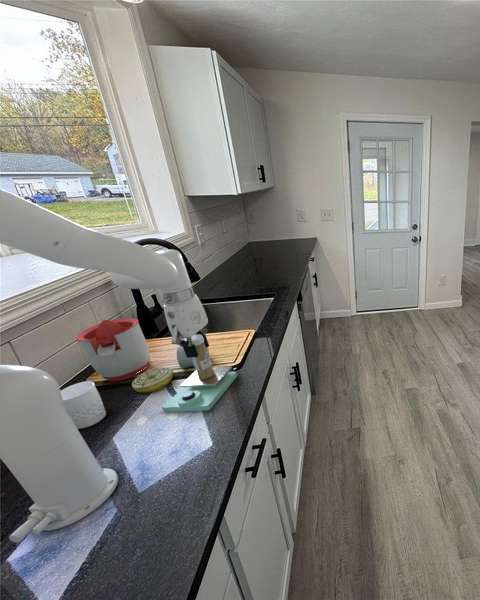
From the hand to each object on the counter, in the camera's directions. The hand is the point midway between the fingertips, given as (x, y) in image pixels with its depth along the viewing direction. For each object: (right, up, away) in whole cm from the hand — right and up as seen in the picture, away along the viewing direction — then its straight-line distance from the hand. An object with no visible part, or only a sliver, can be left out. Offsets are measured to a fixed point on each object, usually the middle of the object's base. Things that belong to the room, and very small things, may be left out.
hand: (198, 351), depth 93 cm
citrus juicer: (-33, -10, +14) cm, 37 cm away
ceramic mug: (-12, -7, +18) cm, 23 cm away
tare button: (0, -12, -5) cm, 13 cm away
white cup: (-25, -18, -7) cm, 32 cm away
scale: (+1, -13, +1) cm, 13 cm away
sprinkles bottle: (+1, -8, +3) cm, 9 cm away
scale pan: (+1, -9, +4) cm, 9 cm away
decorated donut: (-18, -12, +7) cm, 23 cm away
